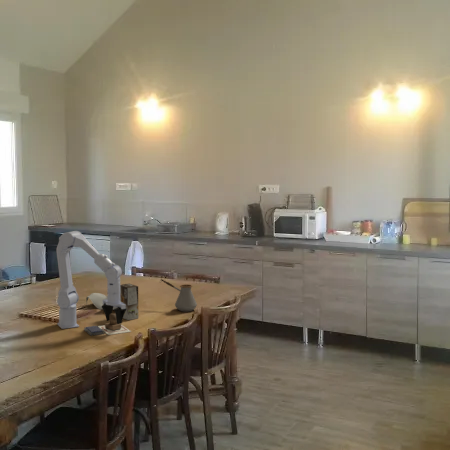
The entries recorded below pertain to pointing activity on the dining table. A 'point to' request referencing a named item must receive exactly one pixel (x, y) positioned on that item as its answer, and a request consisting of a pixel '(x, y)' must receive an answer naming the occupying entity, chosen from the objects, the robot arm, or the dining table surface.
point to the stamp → (113, 323)
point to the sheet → (110, 332)
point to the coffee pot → (184, 298)
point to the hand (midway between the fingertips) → (114, 321)
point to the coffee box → (129, 300)
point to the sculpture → (98, 300)
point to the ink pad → (94, 330)
